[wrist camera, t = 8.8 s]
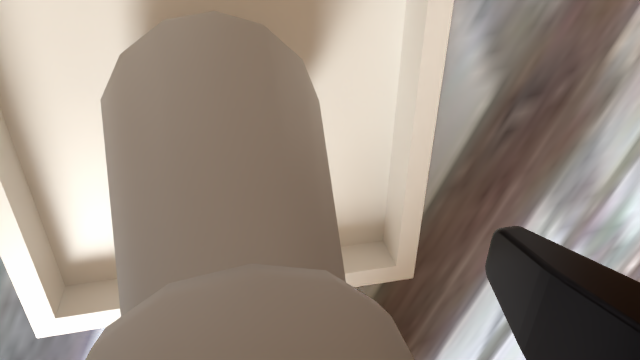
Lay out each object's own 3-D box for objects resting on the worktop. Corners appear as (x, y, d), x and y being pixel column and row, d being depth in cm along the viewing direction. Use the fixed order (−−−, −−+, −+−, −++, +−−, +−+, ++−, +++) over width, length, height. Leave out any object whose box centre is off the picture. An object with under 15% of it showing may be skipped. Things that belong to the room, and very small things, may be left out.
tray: (394, 244, 21) (413, 278, 20) (51, 293, 19) (36, 338, 17) (447, -221, 13) (489, -238, 11) (-162, -254, 10) (-238, -284, 8)
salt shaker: (251, 191, 18) (348, 680, 7) (87, 131, 15) (-165, 751, 4) (334, 50, 16) (659, 431, 5) (160, -48, 13) (26, 295, 2)
